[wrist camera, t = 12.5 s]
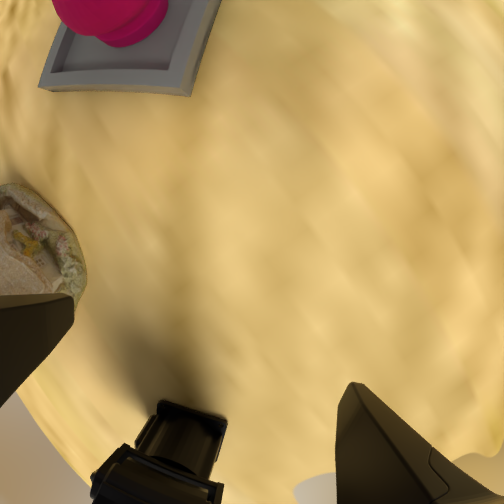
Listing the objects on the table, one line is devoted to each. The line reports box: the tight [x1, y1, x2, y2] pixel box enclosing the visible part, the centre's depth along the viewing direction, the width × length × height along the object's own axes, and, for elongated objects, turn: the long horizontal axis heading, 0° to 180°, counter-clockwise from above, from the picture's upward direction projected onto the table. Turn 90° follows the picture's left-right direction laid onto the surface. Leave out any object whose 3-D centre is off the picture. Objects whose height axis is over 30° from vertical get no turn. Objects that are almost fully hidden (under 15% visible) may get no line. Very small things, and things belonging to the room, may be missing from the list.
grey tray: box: [38, 0, 222, 97], centre depth 17 cm, size 14×14×2 cm
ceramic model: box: [0, 183, 87, 311], centre depth 19 cm, size 14×11×10 cm
